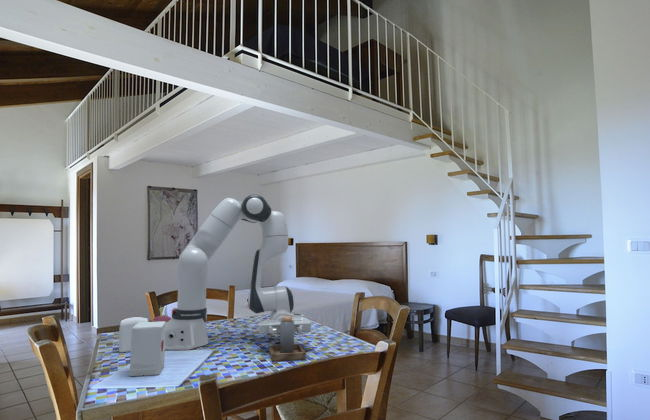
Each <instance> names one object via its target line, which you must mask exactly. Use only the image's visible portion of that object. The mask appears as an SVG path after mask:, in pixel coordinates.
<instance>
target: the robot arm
mask: <svg viewBox="0 0 650 420" xmlns="http://www.w3.org/2000/svg"><path fill="white" fill-rule="evenodd" d="M240 220H241V221H244V222H247V223H250V224H251V223H252V224H256V223H258V224H259V226H260V228H261V237H262V240H261V245H260V247H259V248H258V249H257V250H256V251H255V254H254V259H253V265H252V273H251V282H250V290H249V292H248V298H247V306H248V308H249V310H250V311H251V312H253V313H254V314H261V313H265V312H270V314H269V320H268V319H267V320H260V321H259V322H258V323H257V324H256V328H258V334H259V335H260V334H261V335H264V334H269V335H270V334H271V335H276V334H277V335H278V336H280V325H281V320H283V316H292V320H294V333H297V334H302V333H310V332H311V331H312V322H311V320H310V319H308V318H307V317H306V316H305V315H304V314H301V313H292V311H293V310H294V303H295V302H294V296H293V292H292V290H291V289H290V288H289V287H288V286H285V285H282V286H274V287H262V286H261V285H262V284H261V283H262V274H263V269H264V267H265V265H266V264H268V263H269V262H271V261H273V260H276V259H277V258H279V257H281V256H283V255H284V254H285V253H286V252H287V250H288V248H289V233H288V231H289V230H288V225H287V220H286V216H285V215H284V214H283V213H282V212H280V211H277V210H272V208H271V206H270V205H269V204H268V201H267V200H266V199H265V198H264V197H263V196H261V195H259V194H253V193H252V194H249V195H248V196H246V197H245V198H244V199H243V201H238V200H237V199H236V198H233V197H225V198H224V199H223V200H222V201H220V202H219V204H218V205H217V206H215V208H214V209H213V210H212V211H211V212H210V214H209V215H208V216H207V218H206V219H205V221H204V222H203V224H202V225H201V226H200V227H199V229H198V230H197V232H196V233H195V234H194V236H193V237H192V239H190V241H189V242H188V243H187V245H186V246H185V248H184V249H183V250H182V252H181V253H180V255H179V258H178V262H177V263H178V265H177V266H178V268H177V269H178V270H177V272H178V273H177V305H176V306H177V307H174V308H172V310H171V320H169V321H168V322H167V323H166V330H165V351H167V350H169V351H172V350H174V351H175V350H177V351H181V350H182V351H183V350H184V351H185V350H186V351H188V350H193V349H195V348H199V347H202V346H205V345H208V344H209V342H210V341H209V337H208V332H207V331H208V329H207V318H208V309H207V284H208V282H207V281H208V263H209V262H210V260H211V258H212V257H213V256H214V254H215V253H216V252H217V251H218V249H219V248H220V247H221V246H222V244H223V243H224V241H225V240H226V238H227V237H228V236H229V234H230V233H231V231H232V230H233V229H234V227H235V226H236V224H237V223H239V221H240Z"/></svg>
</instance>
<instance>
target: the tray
mask: <svg viewBox="0 0 650 420" xmlns="http://www.w3.org/2000/svg"><path fill="white" fill-rule="evenodd" d="M268 353H269V358H270V359H271V360H270V361H271V362H272V363H274V362H275V363H276V362H279V363H280V362H295V361H306V360H307V352H306V351H305V348H303V346H302V345H301V343H296V344H295V343H294V353H280V344H274V345H270V344H269V345H268Z"/></svg>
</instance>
